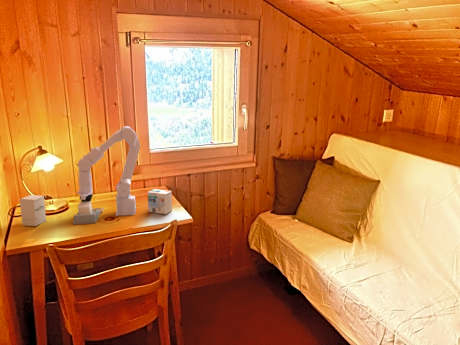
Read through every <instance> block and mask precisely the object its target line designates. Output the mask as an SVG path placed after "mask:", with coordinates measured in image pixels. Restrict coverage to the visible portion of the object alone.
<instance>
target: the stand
mask: <svg viewBox="0 0 460 345" xmlns="http://www.w3.org/2000/svg"><path fill="white" fill-rule="evenodd" d="M97 209H99V212H100V214H102V213H103V212H104V210H105V207H92V212H96V210H97Z"/></svg>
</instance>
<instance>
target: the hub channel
mask: <svg viewBox="0 0 460 345" xmlns="http://www.w3.org/2000/svg"><path fill="white" fill-rule="evenodd" d="M100 214H101V213H100V212H99V209H97V210H96V212H92V214H85V215H79V211H78V212H77V214H73V222H72V224H73V225H83V224H87V225H88V224H96V223H97V221H98V220H99V217H100Z"/></svg>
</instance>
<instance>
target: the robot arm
mask: <svg viewBox="0 0 460 345" xmlns="http://www.w3.org/2000/svg"><path fill="white" fill-rule="evenodd" d="M137 134H138V133H136V131H134V129H133V128H132V127H131V126H129V125H124V126H122V127H121V128H120V129H118V130H116V131H115V132H114V133H113V134H111V136H110V137H109V138H107V139H106V140H105V141H104V142H103V143H102V144H101V145H100V146H99V147H98V146H97V147H96V146H94V147H92V148H90V151H89V152H88V153H87V154H86V155H83V156H82V158H80V159H79V160H78V161H77V162H78V163H77V167H78V186H79V190H78V191H77V192H76V194H79V199H80V202H81V201H82V202H84V201H89V202H90V201H91V202H92V199H93V198H92V197H94V195H93V192H94V191H93V182H92V181H93V180H92V179H93V178H92V173H91V169H92V165H95V164H96V163H98V162H99V160H101V159H102V158H103V157H104V155H105V154H104V153H105V152H106V151H107V150H108V149H110V148H111V147H113V145H114V144H116V143H117V142H123V141H126V143H127V144H128V146H129V149H128V153H127V157H126V160H125V162H124V163H125V164H124V166H123V170H122V174H121V177H120V178H119V181H118V183H117V184H116V186H115V190H116V195H115V201H116V202H115V204H116V212H115V217H116V216H134V215H136V212H137V207H136V205H137V204H136V196H135V195H132V194H131V184H132V183H131V182H132V178H133V174H134V170H135V167H136V163H137V159H138V156H139V153H140V148H141V144H140V141H139V140H140V139H139V138H138V135H137Z"/></svg>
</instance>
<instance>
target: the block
mask: <svg viewBox="0 0 460 345" xmlns="http://www.w3.org/2000/svg"><path fill="white" fill-rule="evenodd" d="M92 208H93V207H92V200H91V201H90V202H89V201H84V202H82V201H81V200H80V201H79V203H78V206H77V209H78V212H79V215H85V214H92Z"/></svg>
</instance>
